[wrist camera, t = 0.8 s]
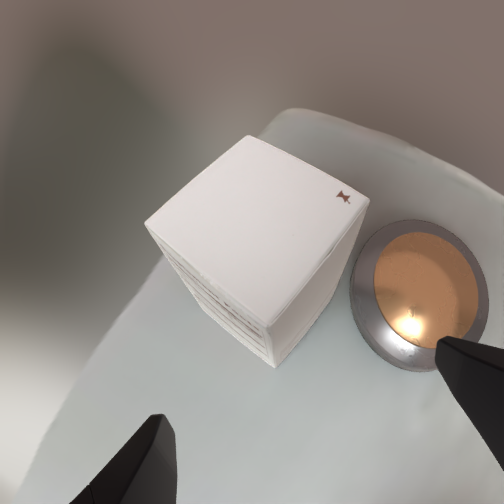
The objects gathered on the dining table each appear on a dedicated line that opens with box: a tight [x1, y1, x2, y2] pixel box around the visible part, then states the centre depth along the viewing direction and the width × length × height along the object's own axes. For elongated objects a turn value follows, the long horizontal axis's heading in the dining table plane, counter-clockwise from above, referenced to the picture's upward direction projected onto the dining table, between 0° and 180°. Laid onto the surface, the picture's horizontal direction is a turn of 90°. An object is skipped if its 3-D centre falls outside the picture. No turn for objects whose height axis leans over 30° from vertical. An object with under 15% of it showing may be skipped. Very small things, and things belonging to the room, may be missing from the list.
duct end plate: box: [350, 220, 489, 372], centre depth 22 cm, size 13×13×2 cm
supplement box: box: [145, 135, 370, 368], centre depth 18 cm, size 7×7×13 cm
